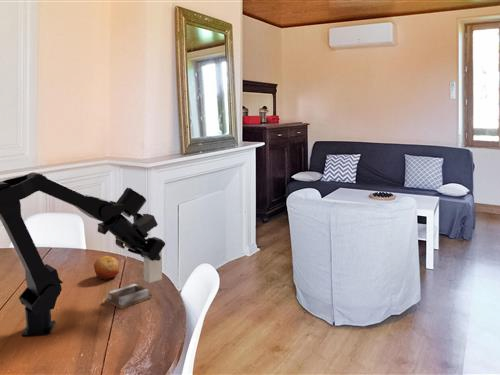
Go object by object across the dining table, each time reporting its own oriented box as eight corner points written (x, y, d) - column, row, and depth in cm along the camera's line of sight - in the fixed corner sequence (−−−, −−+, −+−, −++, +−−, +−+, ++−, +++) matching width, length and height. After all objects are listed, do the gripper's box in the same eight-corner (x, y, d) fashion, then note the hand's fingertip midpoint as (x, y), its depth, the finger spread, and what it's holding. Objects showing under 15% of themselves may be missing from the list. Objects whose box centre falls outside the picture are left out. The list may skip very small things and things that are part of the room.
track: (120, 309, 122) (120, 300, 122) (106, 300, 128) (105, 291, 127) (151, 298, 129) (150, 290, 129) (136, 290, 135) (135, 282, 134)
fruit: (107, 265, 152) (113, 249, 148) (119, 281, 148) (125, 265, 145) (85, 272, 146) (91, 255, 142) (97, 289, 142) (104, 272, 138)
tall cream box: (149, 283, 131) (148, 244, 129) (144, 280, 133) (143, 242, 131) (162, 279, 135) (161, 241, 133) (156, 276, 137) (155, 239, 135)
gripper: (158, 212, 121) (190, 242, 131) (123, 202, 134) (154, 230, 143) (134, 245, 117) (169, 274, 126) (100, 231, 129) (133, 259, 139)
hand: (156, 257), depth 134 cm, fingers closed on tall cream box, 3 cm apart
